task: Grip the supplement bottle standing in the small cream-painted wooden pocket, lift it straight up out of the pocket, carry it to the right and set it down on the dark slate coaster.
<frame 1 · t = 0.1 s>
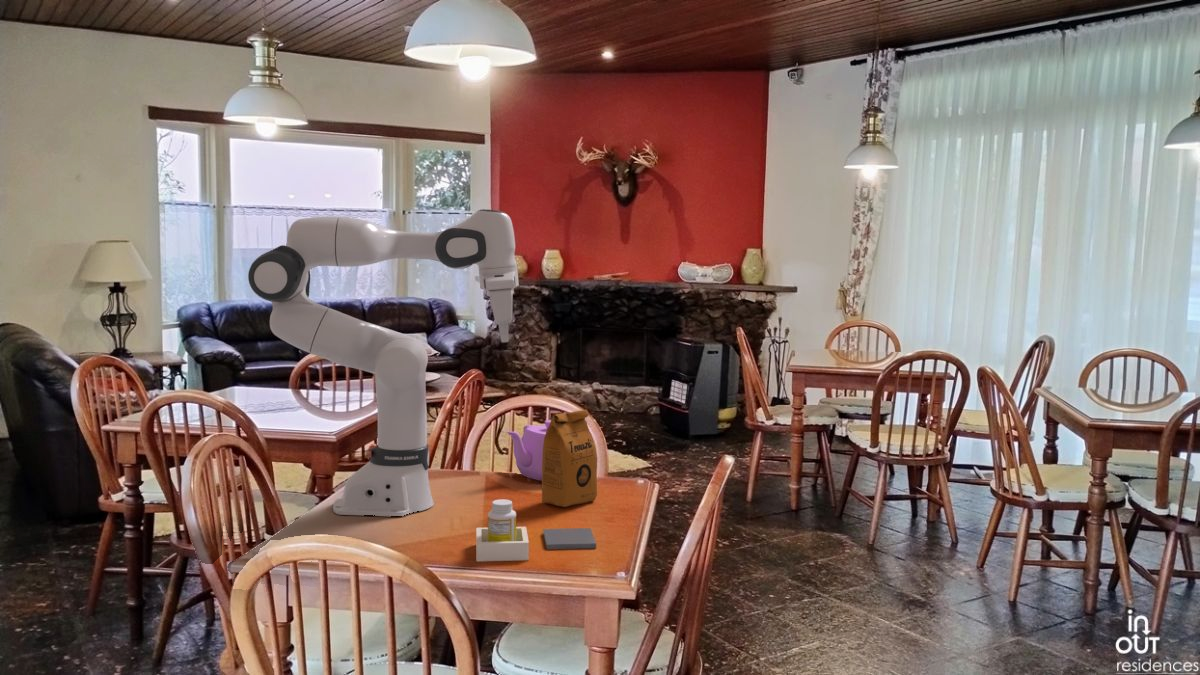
hand: (504, 339, 208), 39 cm above the table, tool pointing down, fingers open, 8 cm apart
pocket: (501, 552, 178), on the table
teapot: (549, 478, 237), on the table
coffee package: (569, 503, 214), on the table
coaster: (569, 540, 186), on the table
supplement bottle: (501, 553, 178), resting in pocket
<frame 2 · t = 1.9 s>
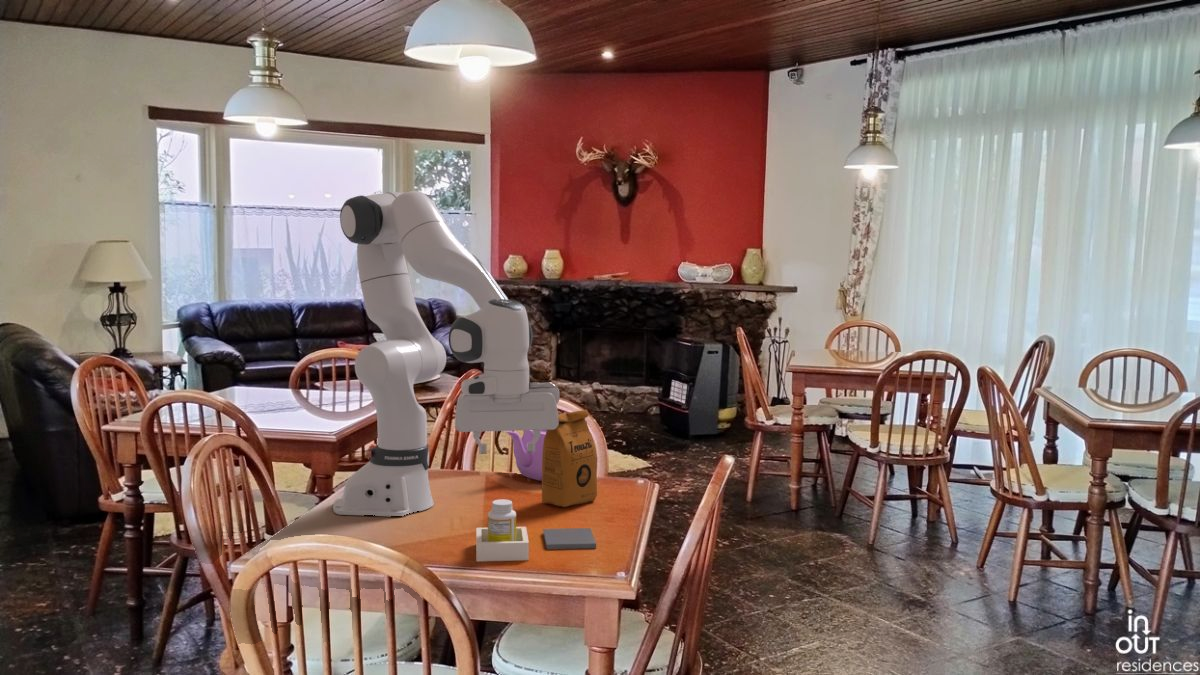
hand: (506, 452, 177), 20 cm above the table, tool pointing down, fingers open, 8 cm apart
nothing on the table moved.
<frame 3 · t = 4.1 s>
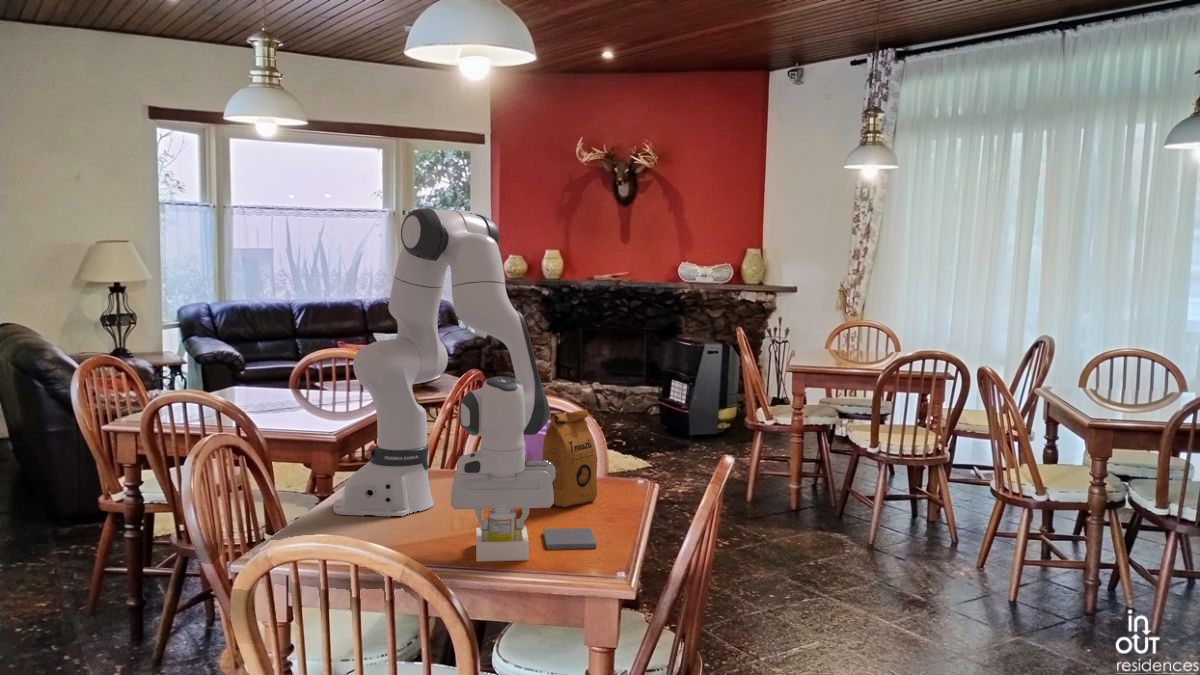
hand: (501, 529, 178), 5 cm above the table, tool pointing down, fingers closed on supplement bottle, 6 cm apart
supplement bottle: (501, 553, 178), resting in pocket, touching gripper
everything else where it was.
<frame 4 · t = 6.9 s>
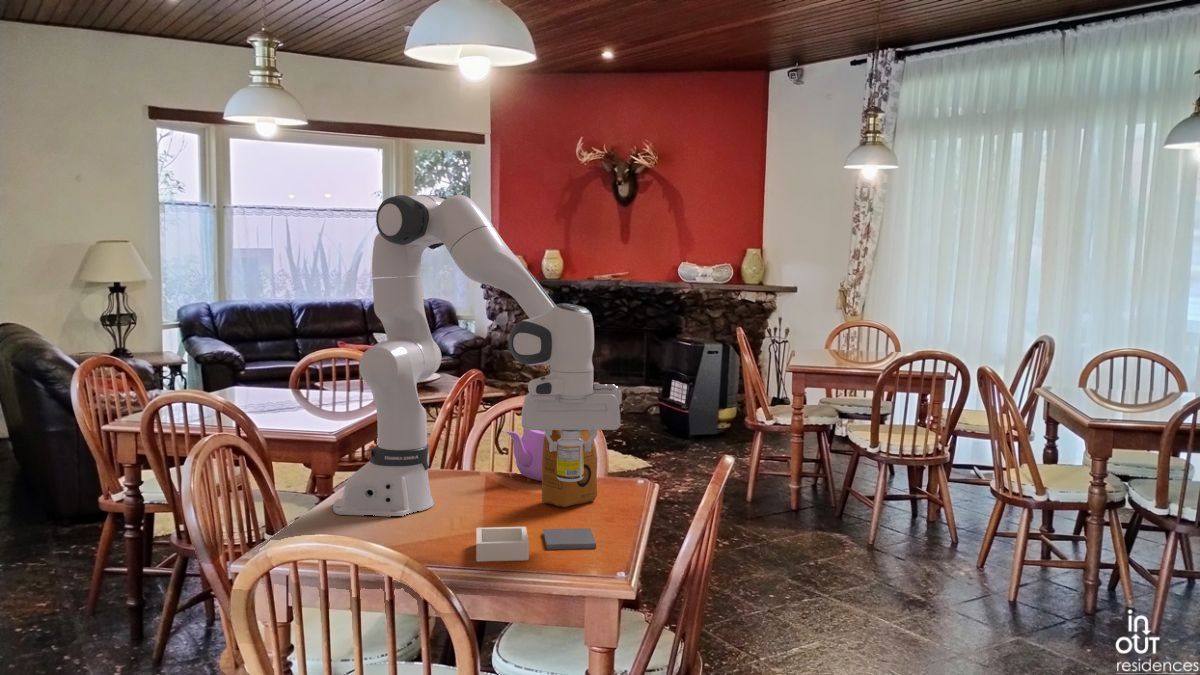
hand: (570, 451, 184), 19 cm above the table, tool pointing down, fingers closed on supplement bottle, 5 cm apart
supplement bottle: (569, 480, 185), point 13 cm above the table, touching gripper
everything else where it was.
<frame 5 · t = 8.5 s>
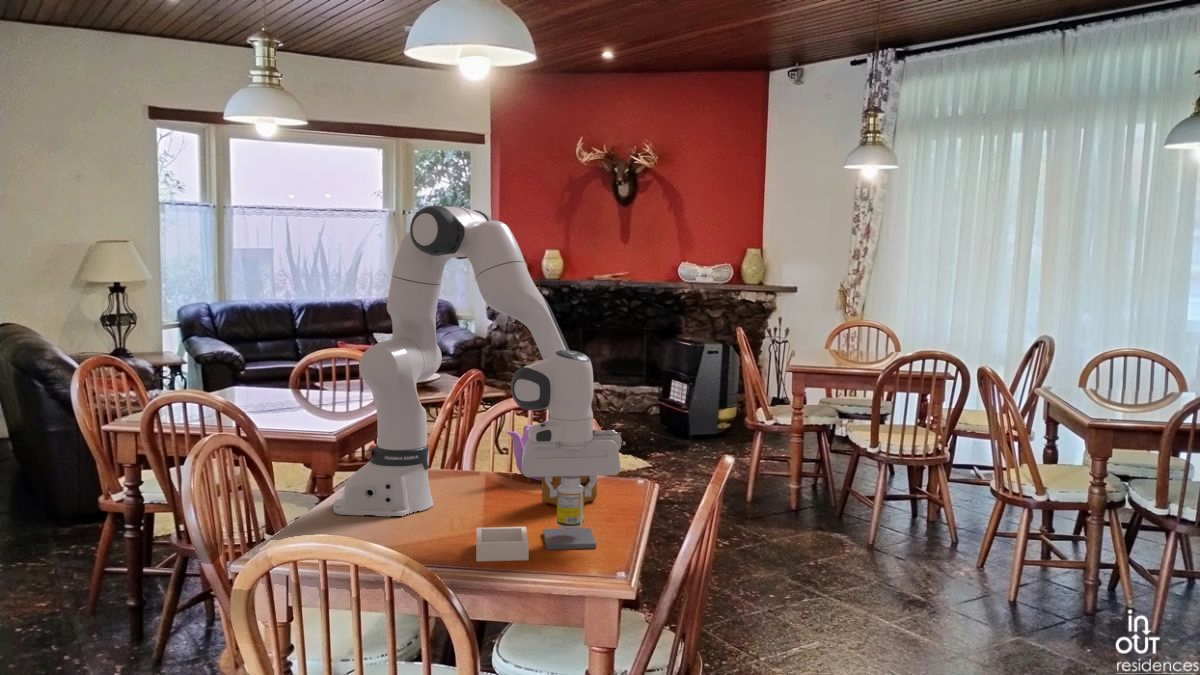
hand: (570, 496, 185), 9 cm above the table, tool pointing down, fingers closed on supplement bottle, 5 cm apart
supplement bottle: (570, 526, 186), point 3 cm above the table, touching gripper
everything else where it was.
when the fingers open (6 cm above the table, at t = 9.7 s): supplement bottle stays where it is, resting on coaster.
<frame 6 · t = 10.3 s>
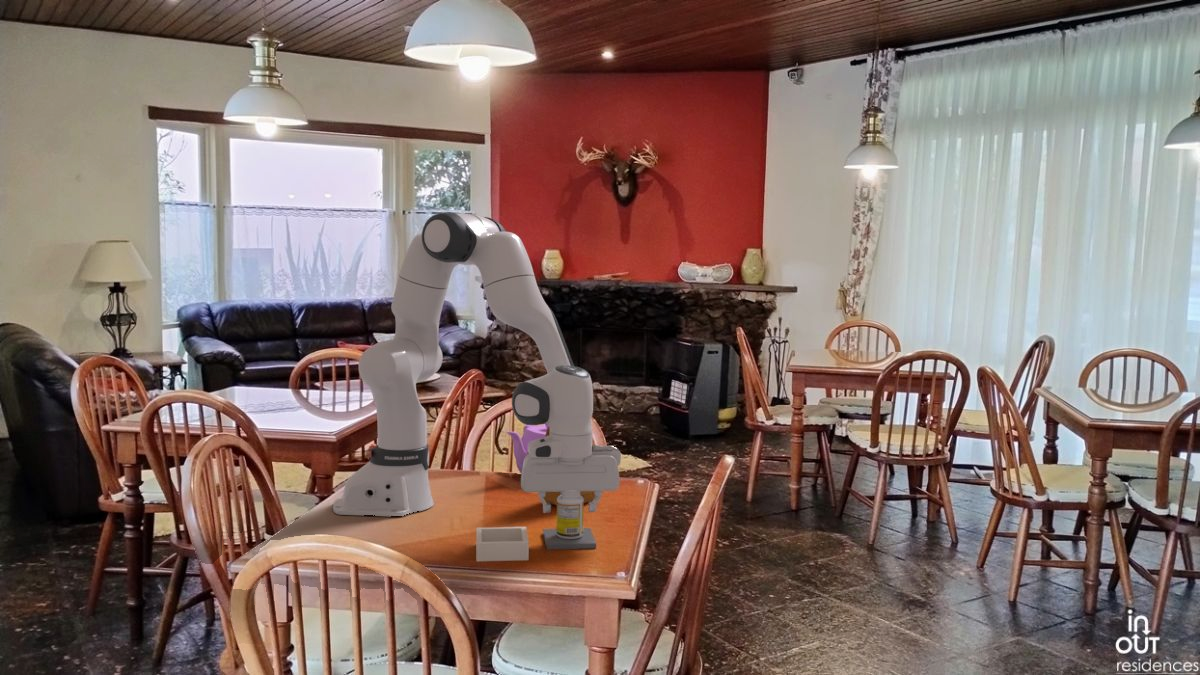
hand: (569, 511, 185), 6 cm above the table, tool pointing down, fingers open, 8 cm apart
supplement bottle: (569, 537, 186), point 1 cm above the table, touching coaster
everything else where it was.
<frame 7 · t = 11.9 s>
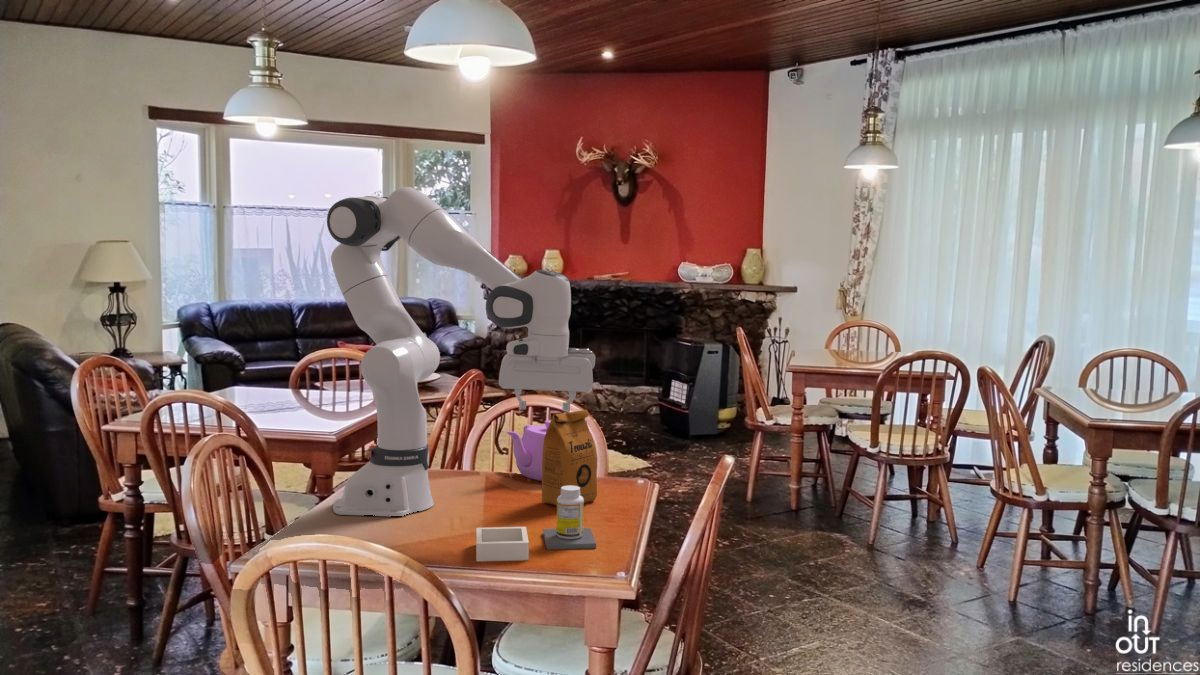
hand: (544, 410, 194), 25 cm above the table, tool pointing down, fingers open, 8 cm apart
nothing on the table moved.
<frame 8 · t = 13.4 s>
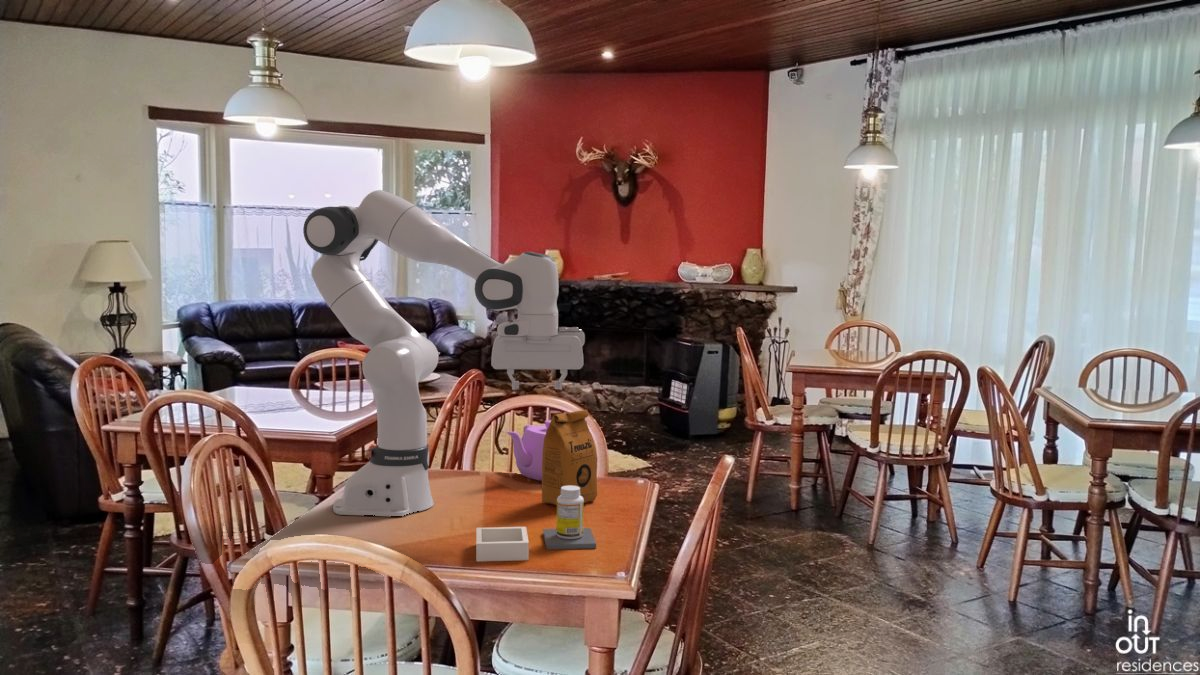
hand: (537, 389, 198), 29 cm above the table, tool pointing down, fingers open, 8 cm apart
nothing on the table moved.
at the end: supplement bottle inside the target area on the coaster (0.1 cm from its centre), point 0.8 cm above the coaster's base; supplement bottle tilted 0°; the gripper is holding nothing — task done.
